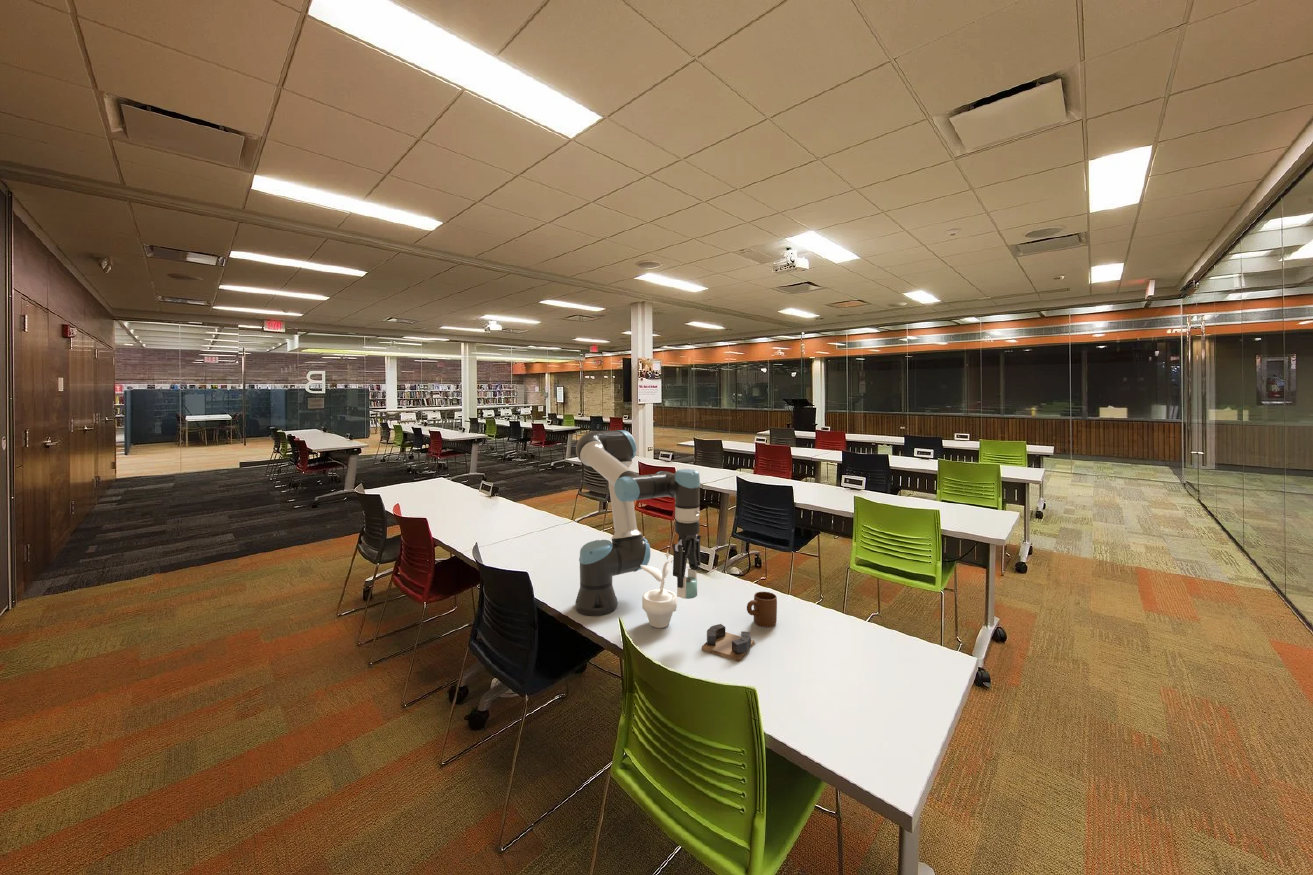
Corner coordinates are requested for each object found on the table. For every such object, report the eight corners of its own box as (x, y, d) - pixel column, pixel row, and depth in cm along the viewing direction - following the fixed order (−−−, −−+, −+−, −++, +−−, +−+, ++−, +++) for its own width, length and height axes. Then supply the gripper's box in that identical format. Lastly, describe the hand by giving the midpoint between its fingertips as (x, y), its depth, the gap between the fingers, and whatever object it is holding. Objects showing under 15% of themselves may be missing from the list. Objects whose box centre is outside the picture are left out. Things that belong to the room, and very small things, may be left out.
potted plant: (682, 620, 161) (682, 548, 159) (668, 635, 150) (668, 558, 149) (648, 613, 166) (648, 543, 164) (633, 627, 156) (633, 553, 154)
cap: (674, 596, 146) (674, 581, 146) (684, 589, 151) (683, 575, 151) (691, 600, 143) (691, 585, 142) (700, 593, 148) (700, 578, 147)
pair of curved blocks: (702, 644, 143) (702, 634, 143) (715, 631, 151) (715, 622, 151) (742, 656, 136) (742, 646, 136) (754, 642, 144) (754, 632, 144)
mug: (755, 633, 151) (755, 605, 151) (739, 624, 158) (739, 597, 157) (781, 624, 158) (781, 597, 157) (764, 615, 164) (765, 589, 164)
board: (701, 649, 142) (701, 646, 142) (718, 633, 152) (718, 630, 152) (739, 661, 135) (739, 657, 135) (754, 643, 145) (754, 640, 145)
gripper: (682, 528, 135) (682, 607, 137) (712, 515, 151) (711, 585, 153) (660, 525, 139) (660, 601, 141) (691, 512, 155) (691, 581, 157)
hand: (687, 593), depth 147 cm, fingers closed on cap, 6 cm apart
